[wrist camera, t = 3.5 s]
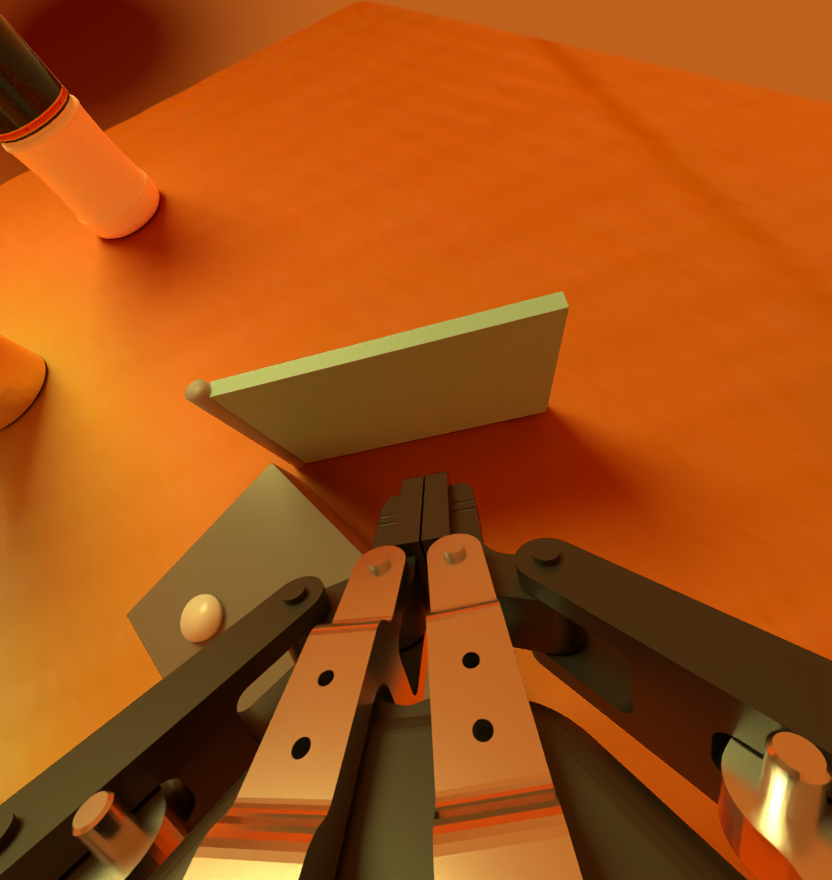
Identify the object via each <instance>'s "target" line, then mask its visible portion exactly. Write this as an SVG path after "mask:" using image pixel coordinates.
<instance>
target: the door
mask: <svg viewBox="0 0 832 880" xmlns="http://www.w3.org/2000/svg"><path fill="white" fill-rule="evenodd" d="M568 309H569V306H568V304H567V301H566V298H565V296H564V293H563V291H561V292H557V293H553V294H550V295H546V296H542V297H538V298H534V299H530V300H526V301H522V302H518V303H515V304H511V305H507V306H503V307H499V308H495V309H491V310H487V311H484V312H480V313H476V314H472V315H468V316H464V317H460V318H456V319H452V320H449V321H445V322H441V323H437V324H433V325H429V326H425V327H421V328H417V329H414V330H410V331H406V332H402V333H398V334H394V335H390V336H386V337H382V338H379V339H375V340H371V341H367V342H363V343H359V344H355V345H351V346H347V347H344V348H340V349H336V350H332V351H328V352H324V353H320V354H316V355H312V356H309V357H305V358H301V359H297V360H293V361H289V362H285V363H281V364H277V365H274V366H270V367H266V368H262V369H258V370H254V371H250V372H246V373H243V374H239V375H235V376H231V377H227V378H223V379H219V380H215V381H211V383H210V384H208V383H207V382H205V381H204V380H195V381H193V382H192V383H191V384H190V385H189V386H188V387H187V389H186V391H185V397H186V399H187V400H189V401H190V402H192V403H193V404H195V405H197V406H198V407H200V408H201V409H203V410H205V411H206V412H208V413H209V414H211V415H213V416H214V417H216V418H217V419H219V420H221V421H222V422H224V423H225V424H227V425H229V426H230V427H232V428H233V429H235V430H237V431H238V432H240V433H241V434H243V435H245V436H246V437H248V438H249V439H251V440H253V441H254V442H256V443H258V444H259V445H261V446H262V447H264V448H266V449H267V450H269V451H270V452H272V453H274V454H275V455H277V456H278V457H280V458H282V459H283V460H285V461H286V462H288V463H290V464H291V465H293V466H294V467H296V468H301V467H303V466H304V465H305V464H306V463H310V462H315V461H319V460H324V459H329V458H333V457H338V456H343V455H347V454H352V453H357V452H361V451H366V450H370V449H375V448H380V447H384V446H389V445H394V444H398V443H403V442H408V441H412V440H417V439H422V438H426V437H431V436H436V435H440V434H445V433H450V432H454V431H459V430H463V429H468V428H473V427H477V426H482V425H487V424H491V423H496V422H501V421H505V420H510V419H515V418H519V417H524V416H529V415H533V414H538V413H543V412H546V410H547V405H548V401H549V396H550V391H551V387H552V382H553V378H554V373H555V368H556V364H557V359H558V355H559V350H560V345H561V341H562V336H563V332H564V327H565V323H566V318H567V313H568Z"/></svg>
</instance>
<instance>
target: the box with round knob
mask: <svg viewBox="0 0 832 880" xmlns="http://www.w3.org/2000/svg"><path fill="white" fill-rule="evenodd" d="M368 551H370V549H369V548H368V547H367V546H366V545H365V544H364V543H363V542H362V541H361V540H360V539H359V538H358V537H357V536H356V535H355V534H354V533H353V532H352V531H351V530H350V529H349V528H348V527H347V526H346V525H345V524H344V523H343V522H342V521H341V520H340V519H339V518H338V517H337V516H336V515H335V514H334V513H333V512H332V511H331V510H330V509H329V508H328V507H327V506H326V505H325V504H324V503H323V502H322V501H321V500H320V499H319V498H318V497H317V496H316V495H315V494H314V493H313V492H312V491H311V490H310V489H309V488H308V487H307V486H306V485H305V484H304V483H303V482H302V481H301V480H300V479H299V478H297V477H296V476H294V475H292V474H290V473H289V472H287V471H285V470H284V469H282V468H280V467H278V466H277V465H275V464H273V463H271V464H270V465H269V466H268V467H267V468H266V469H265V470H264V471H263V472H262V473H261V474H260V475H259V476H258V477H257V478H256V480H255V481H254V482H253V483H252V484H251V485H250V486H249V487H248V488H247V489H246V490H245V491H244V492H243V493H242V494H241V495H240V496H239V497H238V498H237V499H236V501H235V502H234V503H233V504H232V505H231V506H230V507H229V508H228V509H227V510H226V511H225V512H224V513H223V514H222V515H221V516H220V517H219V518H218V519H217V521H216V522H215V523H214V524H213V525H212V526H211V527H210V528H209V529H208V530H207V531H206V532H205V533H204V534H203V535H202V536H201V537H200V538H199V539H198V540H197V542H196V543H195V544H194V545H193V546H192V547H191V548H190V549H189V550H188V551H187V552H186V553H185V554H184V555H183V556H182V557H181V558H180V559H179V560H178V562H177V563H176V564H175V565H174V566H173V567H172V568H171V569H170V570H169V571H168V572H167V573H166V574H165V575H164V576H163V577H162V578H161V579H160V580H159V582H158V583H157V584H156V585H155V586H154V587H153V588H152V589H151V590H150V591H149V592H148V593H147V594H146V595H145V596H144V597H143V598H142V599H141V600H140V601H139V603H138V604H137V605H136V606H135V607H134V608H133V609H132V610H131V611H130V612H129V613H128V614H127V616H128V618H129V620H130V622H131V623H132V625H133V627H134V629H135V630H136V632H137V634H138V636H139V638H140V639H141V641H142V643H143V645H144V646H145V648H146V650H147V652H148V653H149V655H150V657H151V659H152V660H153V662H154V664H155V666H156V667H157V669H158V671H159V673H160V675H161V676H162V678H163V679H164V678H165V677H166V676H168V675H169V674H170V673H171V672H173V671H174V670H175V669H177V668H178V667H179V666H181V665H182V664H183V663H184V662H186V661H187V660H188V659H190V658H191V657H192V656H193V655H195V654H196V653H197V652H199V651H200V650H201V649H202V648H204V647H205V646H206V645H208V644H209V643H210V642H211V641H213V640H214V639H215V638H217V637H218V636H219V635H221V634H222V633H223V632H224V631H226V630H227V629H228V628H230V627H231V626H232V625H233V624H235V623H236V622H237V621H239V620H240V619H241V618H242V617H244V616H245V615H246V614H248V613H249V612H250V611H251V610H253V609H254V608H255V607H257V606H258V605H259V604H261V603H262V602H263V601H264V600H266V599H267V598H268V597H270V596H271V595H272V594H273V593H275V592H276V591H277V590H279V589H280V588H281V587H283V586H284V585H285V584H287V583H289V582H290V581H292V580H295V579H297V578H300V577H304V576H314V577H317V578H319V579H320V580H321V581H322V582H323V585H324V587H325V588H327V587H329V586H332V585H334V584H337V583H339V582H342V581H344V580H346V579H348V578H350V576H351V573H352V571H353V568H354V566H355V564H356V562H357V561H358V559H359V558H360V557H361V556H363V555H364V554H365V553H367V552H368ZM428 613H430V612H428ZM294 665H295V663H294V662H293V660H292V658H291V656H290V654H289V652H288V651H287V652H286V653H285V654H284V655H283V656H282V657H281V658H280V659H278V660H277V661H276V662H275V663H274V664H273V665H272V666H271V667H270V668H269V669H267V670H266V671H265V672H264V673H263V674H262V675H261V676H260V677H259V678H258V679H256V680H255V681H254V682H253V683H252V684H251V685H250V686H249V687H248V688H247V689H246V690H245V691H244V692H243V693H242V695H241V696H240V698H239V701H238V704H237V712H242V711H244V710H246V709H248V708H249V707H250V706H251V705H253V704H254V703H255V702H256V701H257V700H258V699H259V698H260V697H261V696H262V695H263V694H264V693H265V692H266V691H267V690H268V689H269V688H270V687H272V686H273V685H274V684H275V683H276V682H277V681H278V680H279V679H280V678H281V677H282V676H283V675H284V674H285V673H286V672H287V671H288V670H289V669H290V668H292V667H293V666H294ZM428 698H430V686H429V667H428V665H427V674H426V683H425V693H424V700H426V699H428Z"/></svg>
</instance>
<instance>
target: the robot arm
mask: <svg viewBox="0 0 832 880" xmlns="http://www.w3.org/2000/svg"><path fill="white" fill-rule="evenodd" d="M45 374H46V366H45V363H44V360H43V359H42V358H41V356H39V355H37V354H36V353H34V352H32V351H30V350H28V349H26V348H24V347H22V346H20V345H18V344H16V343H15V342H13V341H11V340H9V339H7V338H5V337H3V336H1V335H0V429H2V428H4V427H5V426H7V425H9V424H10V423H12V422H13V421H14V420H16V419H17V418H18V417H19V416H20V415H21V414H22V413H23V412H24V411H25V410H26V409H27V408H28V407H29V406H30V405H31V403H32V402H33V401H34V400H35V398H36V396H37V395H38V393H39V391H40V389H41V387H42V385H43V382H44V378H45ZM428 612H430V613H428ZM513 647H516V648H521V649H527V650H532V653H533V655H534V657H535V658H536V659H537V661H538V662H539V663H540V664H542V665H543V666H544V667H545V668H547V669H548V670H549V671H550V672H552V673H553V674H554V675H555V676H557V677H558V678H559V679H560V680H562V681H563V682H564V683H565V684H567V685H568V686H569V687H571V688H572V689H573V690H574V691H576V692H577V693H578V694H579V695H581V696H582V697H583V698H584V699H586V700H587V701H588V702H589V703H591V704H592V705H593V706H594V707H596V708H597V709H598V710H600V711H601V712H602V713H603V714H605V715H606V716H607V717H608V718H610V719H611V720H612V721H613V722H615V723H616V724H617V725H618V726H620V727H621V728H622V729H624V730H625V731H626V732H627V733H629V734H630V735H631V736H632V737H634V738H635V739H636V740H637V741H639V742H640V743H641V744H642V745H644V746H645V747H646V748H647V749H649V750H650V751H651V752H653V753H654V754H655V755H656V756H658V757H659V758H660V759H661V760H663V761H664V762H665V763H666V764H668V765H669V766H670V767H671V768H673V769H674V770H675V771H677V772H678V773H679V774H680V775H682V776H683V777H684V778H685V779H687V780H688V781H689V782H690V783H692V784H693V785H694V786H695V787H697V788H698V789H699V790H700V791H702V792H703V793H704V794H706V795H707V796H708V797H709V798H711V799H712V800H713V801H714V802H716V803H717V804H718V811H719V818H720V822H721V826H722V828H723V831H724V833H725V836H726V838H727V840H728V841H729V843H730V845H731V847H732V849H733V850H734V852H735V853H736V855H737V856H738V858H739V859H740V860H741V861H742V863H743V864H744V865H745V866H746V867H747V869H748V870H749V871H750V872H751V873H752V874H753V875H754V876H755V877H756V878H757V879H758V880H832V661H831V660H829V659H827V658H824V657H822V656H820V655H818V654H815V653H813V652H811V651H809V650H806V649H804V648H802V647H800V646H797V645H795V644H793V643H791V642H788V641H786V640H784V639H782V638H780V637H777V636H775V635H773V634H771V633H768V632H766V631H764V630H762V629H759V628H757V627H755V626H753V625H750V624H748V623H746V622H744V621H741V620H739V619H737V618H735V617H733V616H730V615H728V614H726V613H724V612H721V611H719V610H717V609H715V608H712V607H710V606H708V605H706V604H703V603H701V602H699V601H697V600H695V599H692V598H690V597H688V596H686V595H683V594H681V593H679V592H677V591H674V590H672V589H670V588H668V587H665V586H663V585H661V584H659V583H656V582H654V581H652V580H650V579H648V578H645V577H643V576H641V575H639V574H636V573H634V572H632V571H630V570H627V569H625V568H623V567H621V566H618V565H616V564H614V563H612V562H609V561H607V560H605V559H603V558H601V557H598V556H596V555H594V554H592V553H589V552H587V551H585V550H583V549H580V548H578V547H576V546H574V545H571V544H569V543H567V542H565V541H562V540H558V539H553V538H540V539H535V540H532V541H529V542H527V543H525V544H524V545H522V546H521V547H520V548H519V549H518V550H517V552H516V554H515V555H513V554H503V553H499V552H496V551H493V550H491V549H489V548H488V547H487V546H486V545H485V544H484V540H483V534H482V528H481V524H480V519H479V515H478V510H477V505H476V501H475V496H474V492H473V489H472V488H471V487H470V486H469V485H467V484H466V483H461V484H455V485H451V483H450V479H449V475H448V472H447V471H446V472H441V473H435V474H430V475H426V477H425V476H420V477H415V478H410V479H405V480H403V482H402V488H401V493H400V495H398V496H393V497H390V498H389V499H388V500H387V502H386V503H385V504H384V505H383V506H382V510H381V514H380V518H379V522H378V526H377V530H376V534H375V538H374V542H373V545H372V549H371V550H370V551H368V552H367V553H365V554H364V555H363V556H361V557H360V558H359V559H358V561H357V562H356V564H355V566H354V568H353V571H352V573H351V576H350V578H348V579H346V580H344V581H342V582H339V583H337V584H334V585H332V586H329V587H327V588H325V587H324V585H323V582H322V581H321V580H320V579H319V578H317V577H314V576H304V577H300V578H297V579H295V580H292V581H290V582H289V583H287V584H285V585H284V586H283V587H281V588H280V589H279V590H277V591H276V592H275V593H273V594H272V595H271V596H270V597H268V598H267V599H266V600H264V601H263V602H262V603H261V604H259V605H258V606H257V607H255V608H254V609H253V610H251V611H250V612H249V613H248V614H246V615H245V616H244V617H242V618H241V619H240V620H239V621H237V622H236V623H235V624H233V625H232V626H231V627H230V628H228V629H227V630H226V631H224V632H223V633H222V634H221V635H219V636H218V637H217V638H215V639H214V640H213V641H211V642H210V643H209V644H208V645H206V646H205V647H204V648H202V649H201V650H200V651H199V652H197V653H196V654H195V655H193V656H192V657H191V658H190V659H188V660H187V661H186V662H184V663H183V664H182V665H181V666H179V667H178V668H177V669H175V670H174V671H173V672H171V673H170V674H169V675H168V676H166V677H165V678H164V679H162V680H161V681H160V682H159V683H157V684H156V685H155V686H153V687H152V688H151V689H150V690H148V691H147V692H146V693H144V694H143V695H142V696H140V697H139V698H138V699H137V700H135V701H134V702H133V703H131V704H130V705H129V706H128V707H126V708H125V709H124V710H122V711H121V712H120V713H119V714H117V715H116V716H115V717H113V718H112V719H111V720H110V721H108V722H107V723H106V724H104V725H103V726H102V727H100V728H99V729H98V730H97V731H95V732H94V733H93V734H91V735H90V736H89V737H88V738H86V739H85V740H84V741H82V742H81V743H80V744H79V745H77V746H76V747H75V748H73V749H72V750H71V751H70V752H68V753H67V754H66V755H64V756H63V757H62V758H60V759H59V760H58V761H57V762H55V763H54V764H53V765H51V766H50V767H49V768H48V769H46V770H45V771H44V772H42V773H41V774H40V775H39V776H37V777H36V778H35V779H33V780H32V781H31V782H29V783H28V784H27V785H26V786H24V787H23V788H22V789H20V790H19V791H18V792H17V793H15V794H14V795H13V796H11V797H10V798H9V799H8V800H6V801H5V802H4V803H2V804H1V805H0V880H747V879H746V878H745V877H744V876H743V875H742V874H741V873H739V872H738V871H737V870H736V869H735V868H734V867H733V866H732V865H731V864H730V863H729V862H727V861H726V860H725V859H724V858H723V857H722V856H721V855H720V854H719V853H718V852H717V851H716V850H714V849H713V848H712V847H711V846H710V845H709V844H708V843H707V842H706V841H705V840H704V839H702V838H701V837H700V836H699V835H698V834H697V833H696V832H695V831H694V830H693V829H692V828H691V827H689V826H688V825H687V824H686V823H685V822H684V821H683V820H682V819H681V818H680V817H679V816H677V815H676V814H675V813H674V812H673V811H672V810H671V809H670V808H669V807H668V806H667V805H666V804H664V803H663V802H662V801H661V800H660V799H659V798H658V797H657V796H656V795H655V794H654V793H652V792H651V791H650V790H649V789H648V788H647V787H646V786H645V785H644V784H643V783H642V782H641V781H639V780H638V779H637V778H636V777H635V776H634V775H633V774H632V773H631V772H630V771H629V770H627V769H626V768H625V767H624V766H623V765H622V764H621V763H620V762H619V761H618V760H617V759H616V758H614V757H613V756H612V755H611V754H610V753H609V752H608V751H607V750H606V749H605V748H604V747H602V746H601V745H600V744H599V743H598V742H597V741H596V740H595V739H594V738H593V737H592V736H591V735H589V734H588V733H587V732H586V731H585V730H584V729H582V728H581V727H580V726H578V725H577V724H576V723H574V722H573V721H572V720H570V719H569V718H567V717H565V716H564V715H562V714H560V713H558V712H557V711H555V710H553V709H550V708H548V707H546V706H543V705H541V704H538V703H534V702H531V701H528V697H527V694H526V691H525V687H524V684H523V680H522V677H521V674H520V670H519V667H518V663H517V660H516V657H515V653H514V650H513ZM287 651H288V652H289V654H290V656H291V658H292V660H293V662H294V663H295V665H294V666H293V667H292V668H290V669H289V670H288V671H287V672H286V673H285V674H284V675H283V676H282V677H281V678H280V679H279V680H278V681H277V682H276V683H275V684H274V685H273V686H272V687H270V688H269V689H268V690H267V691H266V692H265V693H264V694H263V695H262V696H261V697H260V698H259V699H258V700H257V701H256V702H255V703H254V704H253V705H251V706H250V707H249V708H248V709H246V710H244V711H242V712H237V704H238V701H239V698H240V696H241V695H242V693H243V692H244V691H245V690H246V689H247V688H248V687H249V686H250V685H251V684H252V683H253V682H254V681H255V680H256V679H258V678H259V677H260V676H261V675H262V674H263V673H264V672H265V671H266V670H267V669H269V668H270V667H271V666H272V665H273V664H274V663H275V662H276V661H277V660H278V659H280V658H281V657H282V656H283V655H284V654H285V653H286V652H287ZM427 665H428V667H429V686H430V698H428V699H426V700H424V693H425V683H426V674H427Z"/></svg>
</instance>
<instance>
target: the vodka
mask: <svg viewBox="0 0 832 880" xmlns="http://www.w3.org/2000/svg"><path fill="white" fill-rule="evenodd" d="M0 142H1V143H2V145H3V147H4V148H5V150H6V151H7V152H9V153H11V154H13V155H14V156H15V157H16V158H18V159H19V160H20V161H21V162H22V163H24V164H25V165H26V166H27V167H28V168H29V169H30V170H32V171H33V172H34V173H35V174H36V175H37V176H38V177H39V178H40V179H41V180H42V181H43V182H44V183H45V184H46V185H47V186H48V187H49V188H50V189H51V190H52V191H53V192H54V193H55V194H56V195H57V196H58V197H59V198H60V199H61V200H62V201H63V202H64V203H65V204H66V205H67V206H68V207H69V208H70V209H71V210H72V211H73V212H74V213H75V215H76V216H77V217H78V220H79V221H80V222H81V223H82V224H83V225H84V226H85V227H86V228H88V229H89V230H90V231H91V232H92V233H93V234H95V235H97V236H100V237H102V238H106V239H113V238H121V237H125V236H128V235H130V234H132V233H134V232H136V231H137V230H139V229H140V228H142V227H143V226H144V225H145V224H146V223H147V222H148V221H149V220H150V219H151V218H152V217H153V215H154V214H155V212H156V210H157V208H158V204H159V199H160V195H159V192H158V189H157V187H156V185H155V183H154V182H153V181H152V180H151V179H150V178H149V176H148V175H147V174H146V173H145V172H144V171H143V170H141V169H139V168H138V167H137V166H136V165H135V164H134V163H132V162H131V161H130V160H129V159H128V158H127V157H126V156H125V155H124V154H123V153H122V152H121V151H120V150H119V149H118V148H117V147H116V146H115V145H114V144H113V143H112V141H111V140H110V139H109V138H108V137H107V136H106V135H105V134H104V132H103V131H102V130H101V129H100V128H99V127H98V126H97V124H96V123H95V122H94V121H93V120H92V119H91V117H90V116H89V115H88V114H87V112H86V111H85V110H84V109H83V107H82V106H81V105H80V102H79V101H78V99H77V98H75V97H74V96H73V95H70V94H69V93H68V91H67V90H66V89H65V88H64V87H63V86H62V84H61V83H60V82H59V81H58V80H57V79H56V77H55V76H54V75H53V74H52V73H51V72H50V70H49V69H48V68H47V67H46V66H45V65H44V64H43V62H42V61H41V60H40V59H39V58H38V57H37V55H36V54H35V53H34V52H33V51H32V50H31V48H30V47H29V46H28V45H27V44H26V43H25V41H24V40H23V39H22V38H21V37H20V36H19V35H18V33H17V32H16V31H15V30H14V29H13V28H12V26H11V25H10V24H9V23H8V22H7V21H6V19H5V18H4V17H3V16H2V15H1V14H0Z"/></svg>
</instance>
